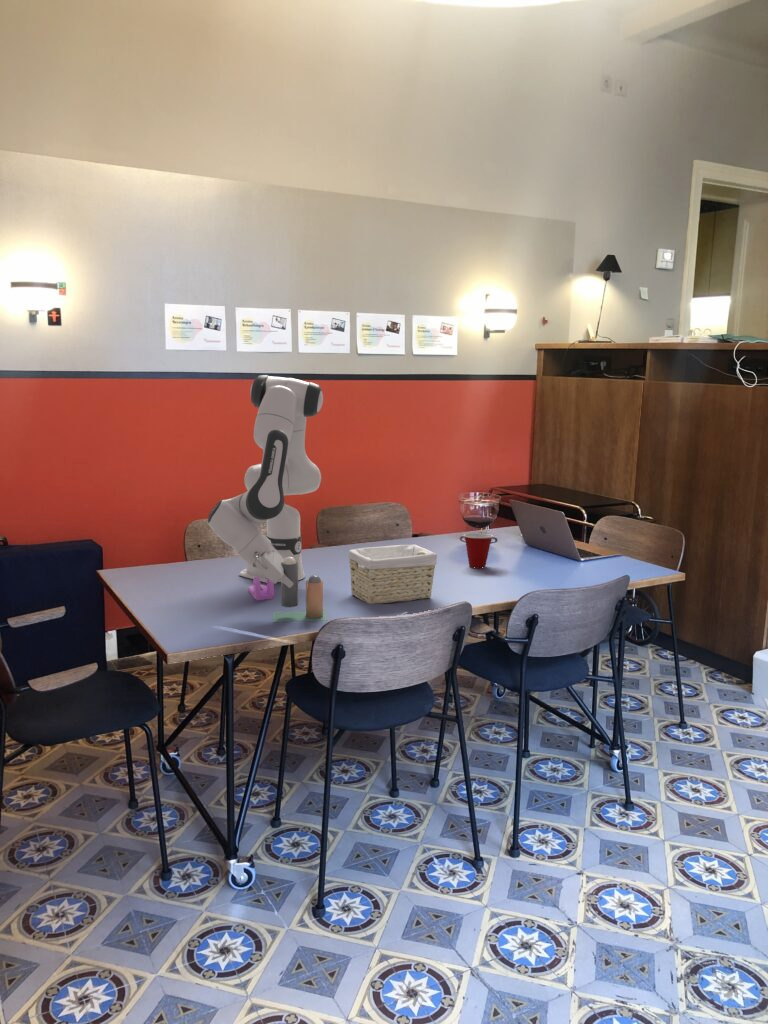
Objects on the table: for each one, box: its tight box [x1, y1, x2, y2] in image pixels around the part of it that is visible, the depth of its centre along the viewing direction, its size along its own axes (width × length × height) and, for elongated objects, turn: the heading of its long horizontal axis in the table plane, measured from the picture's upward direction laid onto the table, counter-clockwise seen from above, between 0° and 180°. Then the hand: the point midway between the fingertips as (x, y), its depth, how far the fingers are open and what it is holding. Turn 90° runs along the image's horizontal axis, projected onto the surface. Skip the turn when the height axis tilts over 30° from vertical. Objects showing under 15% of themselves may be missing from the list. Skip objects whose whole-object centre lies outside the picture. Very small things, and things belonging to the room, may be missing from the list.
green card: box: [272, 610, 328, 623], centre depth 222 cm, size 15×9×1 cm, turn 97°
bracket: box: [248, 577, 275, 601], centre depth 246 cm, size 13×6×7 cm, turn 21°
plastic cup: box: [463, 532, 494, 569], centre depth 283 cm, size 11×11×12 cm
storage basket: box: [348, 544, 438, 605], centre depth 244 cm, size 24×16×15 cm
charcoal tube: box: [280, 557, 299, 608], centre depth 220 cm, size 5×5×14 cm
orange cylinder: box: [305, 574, 324, 618], centre depth 221 cm, size 5×5×12 cm
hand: (291, 582), depth 220 cm, fingers closed on charcoal tube, 5 cm apart
